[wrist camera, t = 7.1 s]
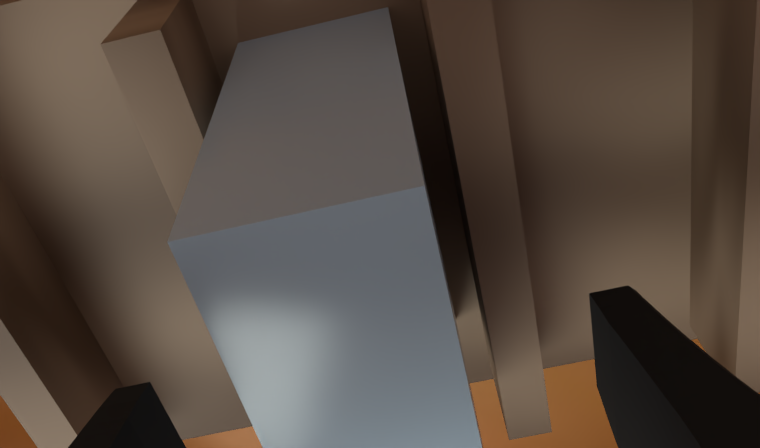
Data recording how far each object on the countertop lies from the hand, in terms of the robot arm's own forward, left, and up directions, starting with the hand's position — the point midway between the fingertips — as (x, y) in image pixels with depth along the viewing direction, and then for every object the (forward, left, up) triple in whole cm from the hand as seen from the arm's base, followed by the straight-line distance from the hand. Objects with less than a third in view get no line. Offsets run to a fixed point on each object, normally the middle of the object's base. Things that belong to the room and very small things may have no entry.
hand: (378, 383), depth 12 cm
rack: (0, 0, -6) cm, 6 cm away
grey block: (0, 0, -5) cm, 5 cm away
